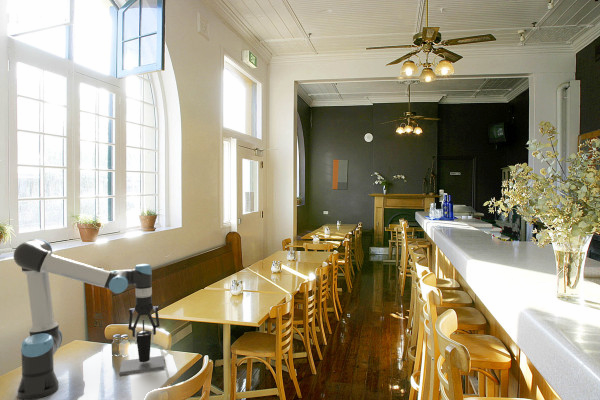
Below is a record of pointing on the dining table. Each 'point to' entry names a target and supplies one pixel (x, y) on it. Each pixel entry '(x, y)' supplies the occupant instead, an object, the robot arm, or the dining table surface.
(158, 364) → the slate board
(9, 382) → the dining table surface
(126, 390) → the dining table surface
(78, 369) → the dining table surface
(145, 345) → the drinking cup
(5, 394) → the dining table surface
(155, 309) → the robot arm
